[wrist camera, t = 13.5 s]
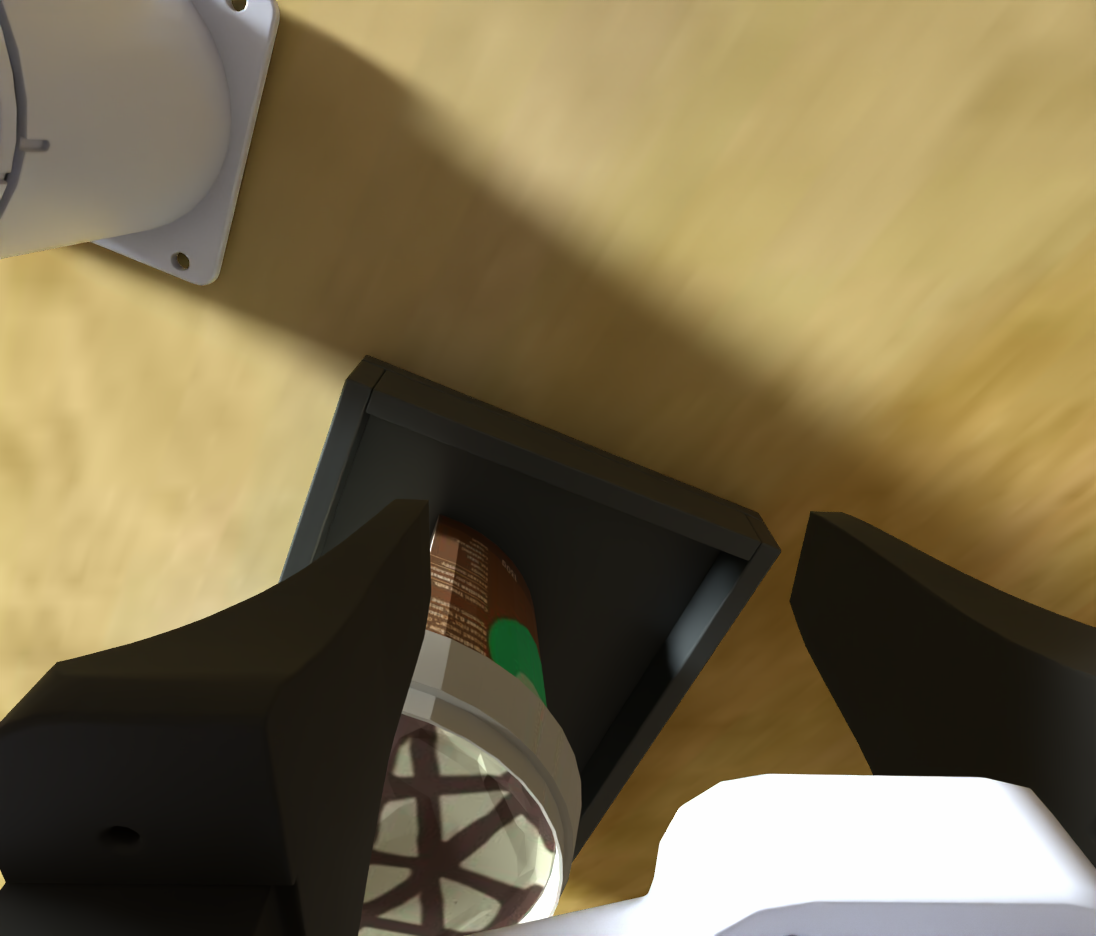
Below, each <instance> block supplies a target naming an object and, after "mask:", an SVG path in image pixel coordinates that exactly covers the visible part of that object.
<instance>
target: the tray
mask: <svg viewBox="0 0 1096 936" xmlns="http://www.w3.org/2000/svg"><path fill="white" fill-rule="evenodd" d="M395 499H420V500H429V529H430V539H431V536H432V533H433V530H434V527H435V525H436V522H437V519H438V516H439V514H441V515H444V516H446V517H449V518H451V519H454V520H457V521H459V522H462V523H464V524H465V525H467V526H469V527H471V528H473V529H474V530H476V531H478V532H480V533H481V534H483V535H484V536H485V537H487V538H488V539H489V540H491V541H492V542H493V543H495V544H496V545H497V546H498V547H499V548H500V549H501V550H502V551H503V552H504V553H505V554H506V555H507V556H508V557H509V558H510V559H511V560H512V561H513V563H514V564H515V566H516V567H517V568H518V570H519V571H520V573H521V574H522V576H523V578H524V580H525V582H526V584H527V586H528V588H529V591H530V594H531V598H532V602H533V605H534V611H535V619H536V626H537V634H538V642H539V650H540V657H541V665H542V673H543V681H544V688H545V696H546V704H547V709H548V710H549V712H550V713H551V714H552V716H553V717H554V718H555V720H556V721H557V722H558V724H559V725H560V726H561V728H562V730H563V732H564V734H565V736H566V738H567V740H568V742H569V744H570V746H571V748H572V751H573V753H574V755H575V759H576V763H577V767H578V771H579V775H580V779H581V813H580V819H579V825H578V831H577V837H576V843H575V849H574V855H573V860H572V862H573V861H574V859H575V858H576V856H577V855H578V853H579V852H580V850H581V849H582V847H583V846H584V844H585V843H586V841H587V840H588V838H589V837H590V835H591V834H592V832H593V831H594V829H595V828H596V826H597V825H598V823H599V822H600V820H601V819H602V817H603V816H604V814H605V813H606V811H607V810H608V809H609V807H610V806H611V804H612V803H613V801H614V800H615V798H616V797H617V795H618V794H619V792H620V791H621V789H622V788H623V786H624V785H625V783H626V782H627V780H628V779H629V777H630V776H631V774H632V773H633V771H634V770H635V768H636V767H637V765H638V764H639V762H640V761H641V759H642V758H643V756H644V755H645V753H646V752H647V751H648V749H649V748H650V746H651V745H652V743H653V742H654V740H655V739H656V737H657V736H658V734H659V733H660V731H661V730H662V728H663V727H664V725H665V724H666V722H667V721H668V719H669V718H670V716H671V715H672V713H673V712H674V710H675V709H676V707H677V706H678V704H679V703H680V701H681V700H682V698H683V697H684V695H685V694H686V693H687V691H688V690H689V688H690V687H691V685H692V684H693V682H694V681H695V679H696V678H697V676H698V675H699V673H700V672H701V670H702V669H703V667H704V666H705V664H706V663H707V661H708V660H709V658H710V657H711V655H712V654H713V652H714V651H715V649H716V648H717V646H718V645H719V643H720V642H721V640H722V639H723V637H724V636H725V635H726V633H727V632H728V630H729V629H730V627H731V626H732V624H733V623H734V621H735V620H736V618H737V617H738V615H739V614H740V612H741V611H742V609H743V608H744V606H745V605H746V603H747V602H748V600H749V599H750V597H751V596H752V594H753V593H754V591H755V590H756V588H757V587H758V585H759V584H760V582H761V581H762V579H763V578H764V577H765V575H766V574H767V572H768V571H769V569H770V568H771V566H772V565H773V563H774V562H775V560H776V559H777V557H778V556H779V554H780V553H781V549H780V547H779V546H778V544H777V543H776V541H775V539H774V538H773V536H772V535H771V533H770V531H769V530H768V528H767V527H766V525H765V523H764V522H763V520H762V518H761V517H760V515H759V514H758V513H757V512H754V511H752V510H749V509H747V508H744V507H742V506H739V505H737V504H734V503H732V502H729V501H727V500H725V499H722V498H720V497H717V496H715V495H712V494H710V493H707V492H705V491H702V490H700V489H697V488H695V487H692V486H690V485H687V484H685V483H682V482H680V481H678V480H675V479H673V478H670V477H668V476H665V475H663V474H660V473H658V472H655V471H653V470H650V469H648V468H645V467H643V466H640V465H638V464H635V463H633V462H630V461H628V460H626V459H623V458H621V457H618V456H616V455H613V454H611V453H608V452H606V451H603V450H601V449H598V448H596V447H593V446H591V445H588V444H586V443H583V442H581V441H578V440H576V439H574V438H571V437H569V436H566V435H564V434H561V433H559V432H556V431H554V430H551V429H549V428H546V427H544V426H541V425H539V424H536V423H534V422H531V421H529V420H527V419H524V418H522V417H519V416H517V415H514V414H512V413H509V412H507V411H504V410H502V409H499V408H497V407H494V406H492V405H489V404H487V403H484V402H482V401H479V400H477V399H475V398H472V397H470V396H467V395H465V394H462V393H460V392H457V391H455V390H452V389H450V388H447V387H445V386H442V385H440V384H437V383H435V382H432V381H430V380H428V379H425V378H423V377H420V376H418V375H415V374H413V373H410V372H408V371H405V370H403V369H400V368H398V367H395V366H393V365H390V364H388V363H385V362H383V361H380V360H378V359H376V358H373V357H371V356H368V355H366V356H365V357H364V358H363V359H362V361H361V362H360V363H359V364H358V366H357V367H356V368H355V369H354V370H353V372H352V373H351V374H350V375H349V376H348V378H347V379H346V380H345V383H344V386H343V389H342V392H341V395H340V398H339V401H338V404H337V407H336V410H335V413H334V416H333V419H332V422H331V425H330V428H329V432H328V435H327V438H326V441H325V444H324V447H323V450H322V453H321V456H320V459H319V462H318V465H317V468H316V471H315V474H314V477H313V480H312V483H311V486H310V489H309V492H308V495H307V498H306V501H305V504H304V507H303V510H302V513H301V516H300V519H299V522H298V525H297V528H296V531H295V534H294V537H293V540H292V543H291V546H290V549H289V552H288V555H287V558H286V561H285V565H284V568H283V571H282V574H281V577H280V580H279V583H280V582H282V581H284V580H285V579H287V578H289V577H291V576H292V575H294V574H296V573H297V572H299V571H300V570H302V569H304V568H305V567H307V566H308V565H310V564H311V563H312V562H314V561H315V560H317V559H318V558H320V557H321V556H323V555H324V554H325V553H327V552H328V551H330V550H331V549H333V548H334V547H335V546H337V545H338V544H340V543H341V542H342V541H344V540H345V539H346V538H348V537H349V536H350V535H351V534H353V533H354V532H355V531H356V530H358V529H359V528H360V527H361V526H363V525H364V524H365V523H366V522H368V521H369V520H370V519H371V518H372V517H374V516H375V515H376V514H377V513H378V512H380V511H381V510H382V509H383V508H384V507H386V506H387V505H388V504H389V503H391V502H392V501H393V500H395Z"/></svg>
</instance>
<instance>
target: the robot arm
mask: <svg viewBox="0 0 1096 936" xmlns="http://www.w3.org/2000/svg"><path fill="white" fill-rule="evenodd" d="M246 2H247V4H246V6H245V8H244V10H242V11H240V12H238V11H236V10H235V9H234V7H233V5H232V0H0V259H3V258H8V257H13V256H18V255H23V254H29V253H34V252H39V251H44V250H49V249H54V248H59V247H64V246H69V245H75V244H80V243H85V242H91V243H94V244H96V245H99V246H101V247H104V248H106V249H109V250H111V251H114V252H116V253H119V254H121V255H124V256H126V257H129V258H131V259H133V260H136V261H138V262H141V263H143V264H146V265H148V266H151V267H153V268H156V269H158V270H161V271H163V272H166V273H168V274H171V275H173V276H176V277H178V278H180V279H183V280H185V281H188V282H190V283H193V284H196V285H201V286H202V285H208V284H210V283H212V282H214V281H215V280H216V279H217V278H218V276H219V274H220V270H221V266H222V261H223V257H224V253H225V249H226V244H227V240H228V236H229V232H230V228H231V223H232V219H233V215H234V211H235V207H236V202H237V198H238V194H239V190H240V185H241V181H242V177H243V173H244V169H245V164H246V160H247V156H248V152H249V147H250V143H251V139H252V135H253V131H254V126H255V122H256V118H257V114H258V110H259V105H260V101H261V97H262V93H263V88H264V84H265V80H266V76H267V72H268V67H269V63H270V59H271V55H272V51H273V46H274V42H275V38H276V34H277V29H278V25H279V21H280V10H279V7H278V3H277V2H276V0H246ZM179 252H181V253H183V254H185V255H186V256H187V258H188V259H189V267H188V269H187V268H184V267H182V266H181V265H180V264H179V262H178V260H177V255H178V253H179ZM430 598H431V562H430V529H429V500H420V499H395V500H393V501H392V502H391V503H389V504H388V505H387V506H386V507H384V508H383V509H382V510H381V511H380V512H378V513H377V514H376V515H375V516H374V517H372V518H371V519H370V520H369V521H368V522H366V523H365V524H364V525H363V526H361V527H360V528H359V529H358V530H356V531H355V532H354V533H353V534H351V535H350V536H349V537H348V538H346V539H345V540H344V541H342V542H341V543H340V544H338V545H337V546H335V547H334V548H333V549H331V550H330V551H328V552H327V553H325V554H324V555H323V556H321V557H320V558H318V559H317V560H315V561H314V562H312V563H311V564H310V565H308V566H307V567H305V568H304V569H302V570H300V571H299V572H297V573H296V574H294V575H292V576H291V577H289V578H287V579H285V580H284V581H282V582H280V583H278V584H276V585H275V586H273V587H271V588H269V589H267V590H265V591H264V592H262V593H260V594H258V595H256V596H254V597H251V598H249V599H247V600H245V601H243V602H240V603H238V604H236V605H234V606H231V607H229V608H227V609H225V610H222V611H220V612H218V613H216V614H213V615H211V616H209V617H206V618H204V619H201V620H199V621H196V622H193V623H191V624H188V625H185V626H183V627H180V628H177V629H174V630H171V631H168V632H165V633H162V634H159V635H156V636H153V637H150V638H147V639H144V640H141V641H137V642H134V643H131V644H127V645H123V646H119V647H116V648H112V649H108V650H104V651H100V652H96V653H93V654H89V655H85V656H81V657H77V658H74V659H69V660H65V661H60V662H57V663H56V664H55V665H54V666H53V667H52V668H51V669H50V670H49V671H48V672H47V673H46V674H45V675H44V676H43V677H42V678H41V679H40V680H39V681H38V683H37V684H36V685H35V686H34V687H33V688H32V689H31V690H30V691H29V692H28V693H27V694H26V695H25V696H24V697H23V698H22V700H21V701H20V702H19V703H18V704H17V705H16V706H15V707H14V708H13V709H12V710H11V711H10V712H9V713H8V714H7V716H6V717H5V718H4V719H3V720H2V721H1V722H0V870H1V872H2V875H3V877H4V879H5V882H6V883H5V885H4V886H3V887H2V889H1V890H0V936H358V933H359V927H360V921H361V914H362V908H363V902H364V896H365V890H366V884H367V878H368V871H369V866H370V860H371V854H372V848H373V843H374V837H375V831H376V826H377V820H378V814H379V809H380V803H381V798H382V793H383V787H384V782H385V777H386V771H387V766H388V761H389V757H390V753H391V749H392V745H393V741H394V737H395V733H396V730H397V727H398V723H399V720H400V717H401V714H402V710H403V707H404V704H405V700H406V697H407V694H408V690H409V687H410V684H411V681H412V677H413V674H414V671H415V667H416V664H417V660H418V657H419V654H420V650H421V647H422V643H423V640H424V636H425V630H426V624H427V618H428V612H429V605H430ZM790 604H791V607H792V610H793V613H794V616H795V619H796V622H797V625H798V628H799V630H800V633H801V635H802V638H803V641H804V643H805V646H806V648H807V650H808V652H809V654H810V656H811V658H812V659H813V661H814V663H815V665H816V667H817V669H818V671H819V673H820V674H821V676H822V678H823V680H824V682H825V684H826V686H827V687H828V689H829V691H830V693H831V695H832V697H833V698H834V700H835V702H836V704H837V706H838V707H839V709H840V711H841V713H842V715H843V717H844V718H845V720H846V722H847V724H848V726H849V728H850V729H851V731H852V733H853V735H854V737H855V739H856V740H857V742H858V744H859V746H860V748H861V750H862V752H863V754H864V756H865V758H866V760H867V762H868V764H869V766H870V769H871V771H872V773H873V775H818V774H762V775H756V776H750V777H744V778H739V779H733V780H727V781H721V782H719V783H718V784H716V785H714V786H713V787H711V788H709V789H708V790H706V791H705V792H703V793H701V794H700V795H698V796H696V797H695V798H693V799H692V800H690V801H688V802H687V803H685V804H684V805H683V806H681V807H680V808H679V809H678V811H677V813H676V814H675V816H674V818H673V820H672V821H671V823H670V825H669V827H668V829H667V830H666V832H665V834H664V836H663V838H662V839H661V841H660V845H659V851H658V857H657V863H656V869H655V875H654V879H653V882H652V885H651V887H650V890H649V893H648V894H647V895H645V896H643V897H638V898H634V899H629V900H625V901H620V902H616V903H611V904H607V905H602V906H598V907H593V908H589V909H584V910H580V911H575V912H570V913H566V914H561V915H557V916H552V917H548V918H543V919H539V920H534V921H530V922H525V923H521V924H516V925H512V926H507V927H502V928H498V929H493V930H489V931H484V932H480V933H475V934H471V935H466V936H1096V628H1095V627H1092V626H1089V625H1086V624H1083V623H1081V622H1078V621H1075V620H1072V619H1069V618H1067V617H1064V616H1061V615H1059V614H1056V613H1054V612H1051V611H1049V610H1046V609H1044V608H1041V607H1039V606H1036V605H1034V604H1031V603H1029V602H1026V601H1024V600H1021V599H1019V598H1017V597H1014V596H1012V595H1010V594H1007V593H1005V592H1003V591H1001V590H998V589H996V588H994V587H992V586H990V585H988V584H986V583H983V582H981V581H979V580H977V579H975V578H973V577H971V576H969V575H967V574H965V573H963V572H961V571H959V570H957V569H955V568H953V567H951V566H949V565H947V564H945V563H943V562H941V561H939V560H937V559H935V558H933V557H931V556H929V555H927V554H926V553H924V552H922V551H920V550H918V549H916V548H914V547H912V546H910V545H909V544H907V543H905V542H903V541H901V540H899V539H897V538H895V537H894V536H892V535H890V534H888V533H886V532H884V531H882V530H880V529H878V528H876V527H874V526H872V525H870V524H868V523H866V522H864V521H862V520H860V519H858V518H856V517H853V516H851V515H848V514H845V513H843V512H814V511H810V516H809V520H808V524H807V528H806V533H805V537H804V541H803V546H802V550H801V554H800V559H799V563H798V567H797V571H796V576H795V580H794V584H793V589H792V593H791V597H790Z"/></svg>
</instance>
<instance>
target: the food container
mask: <svg viewBox="0 0 1096 936" xmlns="http://www.w3.org/2000/svg"><path fill="white" fill-rule="evenodd" d="M430 562H431V598H430V605H429V612H428V618H427V624H426V630H425V636H424V640H423V643H422V647H421V650H420V654H419V657H418V660H417V664H416V667H415V671H414V674H413V677H412V681H411V684H410V687H409V690H408V694H407V697H406V700H405V704H404V707H403V710H402V714H401V717H400V720H399V723H398V727H397V730H396V733H395V737H394V741H393V745H392V749H391V753H390V757H389V761H388V766H387V771H386V777H385V782H384V787H383V793H382V798H381V803H380V809H379V814H378V820H377V826H376V831H375V837H374V843H373V848H372V854H371V860H370V866H369V871H368V878H367V884H366V890H365V896H364V902H363V908H362V914H361V921H360V927H359V933H358V936H466V935H471V934H475V933H480V932H484V931H489V930H493V929H498V928H502V927H507V926H512V925H516V924H521V923H525V922H530V921H534V920H539V919H543V918H548V917H552V916H553V913H554V911H555V909H556V907H557V905H558V901H559V898H560V896H561V894H562V892H563V890H564V888H565V886H566V884H567V881H568V878H569V873H570V869H571V864H572V860H573V855H574V849H575V843H576V837H577V831H578V825H579V819H580V813H581V779H580V775H579V771H578V767H577V763H576V759H575V755H574V753H573V751H572V748H571V746H570V744H569V742H568V740H567V738H566V736H565V734H564V732H563V730H562V728H561V726H560V725H559V724H558V722H557V721H556V720H555V718H554V717H553V716H552V714H551V713H550V712H549V710H548V709H547V704H546V696H545V688H544V681H543V673H542V665H541V657H540V650H539V642H538V634H537V626H536V619H535V611H534V605H533V602H532V598H531V594H530V591H529V588H528V586H527V584H526V582H525V580H524V578H523V576H522V574H521V573H520V571H519V570H518V568H517V567H516V566H515V564H514V563H513V561H512V560H511V559H510V558H509V557H508V556H507V555H506V554H505V553H504V552H503V551H502V550H501V549H500V548H499V547H498V546H497V545H496V544H495V543H493V542H492V541H491V540H489V539H488V538H487V537H485V536H484V535H483V534H481V533H480V532H478V531H476V530H474V529H473V528H471V527H469V526H467V525H465V524H464V523H462V522H459V521H457V520H454V519H451V518H449V517H446V516H444V515H441V514H439V516H438V519H437V522H436V525H435V527H434V530H433V533H432V536H431V539H430Z"/></svg>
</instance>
